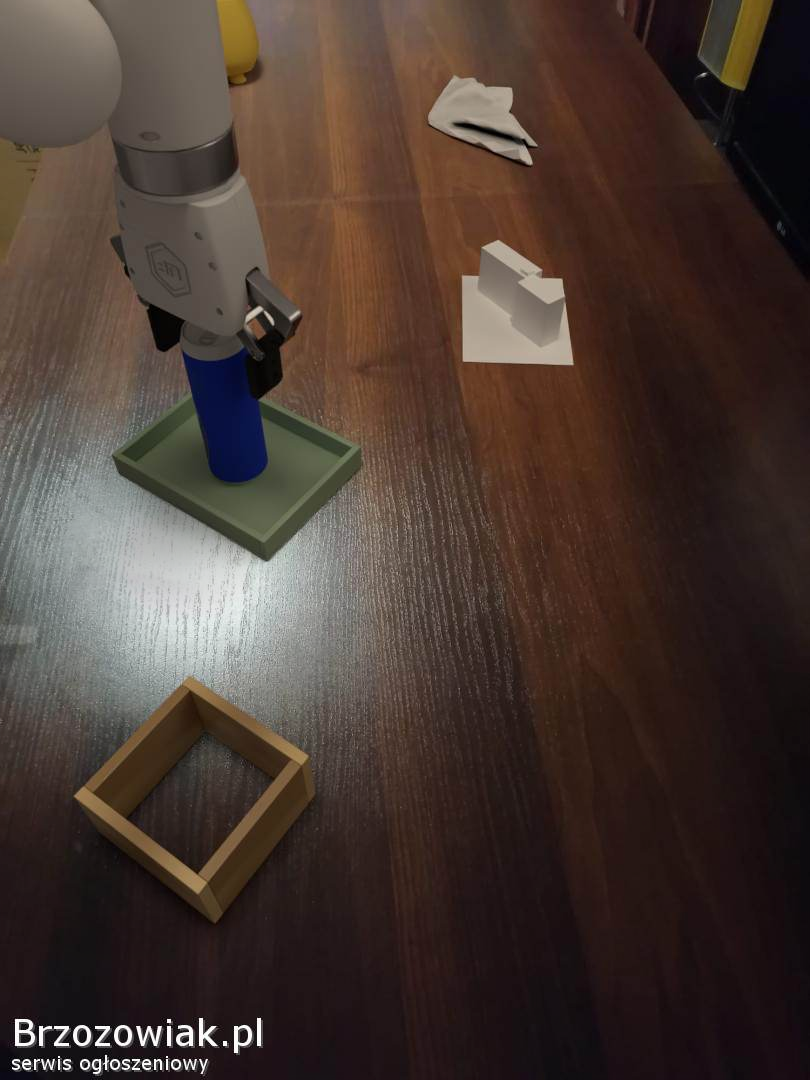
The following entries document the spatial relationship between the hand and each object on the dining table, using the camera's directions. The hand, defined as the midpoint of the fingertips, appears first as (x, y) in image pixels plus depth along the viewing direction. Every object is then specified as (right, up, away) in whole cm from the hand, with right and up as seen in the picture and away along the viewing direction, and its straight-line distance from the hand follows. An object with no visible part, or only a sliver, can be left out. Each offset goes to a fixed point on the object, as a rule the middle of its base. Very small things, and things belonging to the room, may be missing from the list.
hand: (219, 365), depth 68 cm
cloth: (+25, +44, +51) cm, 72 cm away
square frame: (+2, -32, -10) cm, 34 cm away
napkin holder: (+26, +10, +24) cm, 37 cm away
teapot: (-14, +56, +61) cm, 84 cm away
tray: (0, -8, +9) cm, 12 cm away
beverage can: (0, -7, +9) cm, 12 cm away
